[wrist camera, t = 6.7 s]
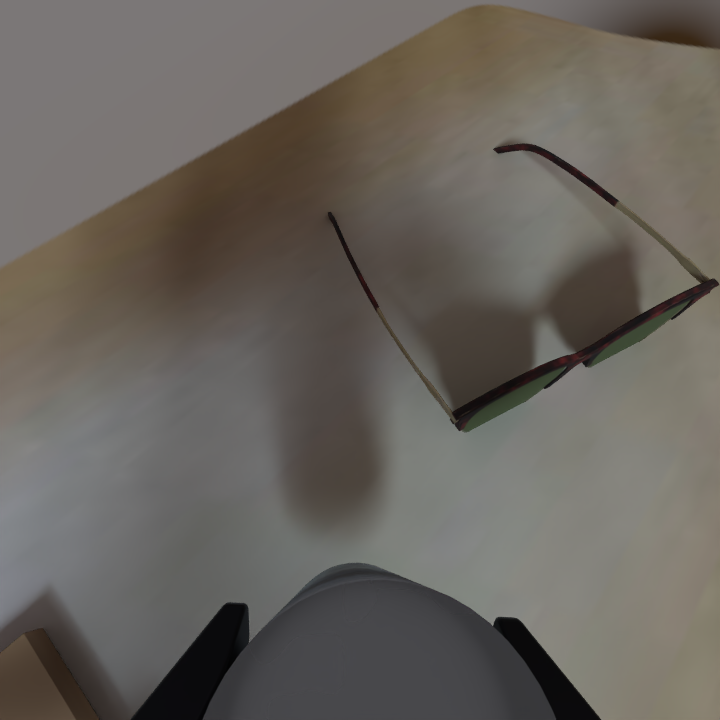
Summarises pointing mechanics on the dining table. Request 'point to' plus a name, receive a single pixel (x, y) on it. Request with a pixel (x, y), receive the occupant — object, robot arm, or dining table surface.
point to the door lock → (39, 683)
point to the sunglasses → (555, 369)
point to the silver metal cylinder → (377, 658)
